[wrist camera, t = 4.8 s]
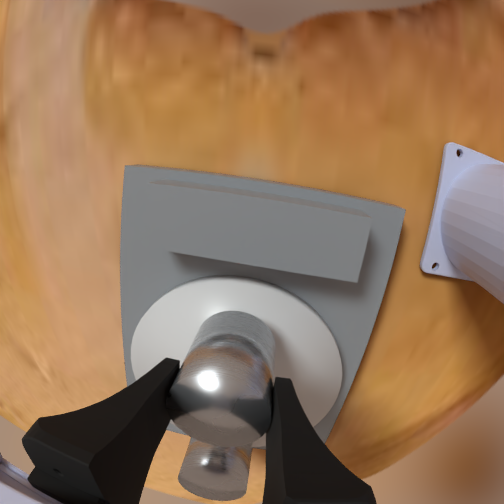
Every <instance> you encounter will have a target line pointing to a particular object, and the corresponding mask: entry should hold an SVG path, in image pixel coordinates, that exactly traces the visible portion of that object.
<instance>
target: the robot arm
mask: <svg viewBox="0 0 504 504" xmlns="http://www.w3.org/2000/svg"><path fill="white" fill-rule="evenodd" d="M457 150H459V151H460V156H459V157H458V156H457V154H456V152H457ZM434 263H436V267H435V268H433V269H432V265H433V264H434ZM420 268H421V269H422V270H423V271H424V272H426V273H430V274H435V275H441V276H447V277H452V278H458V279H463V280H469V281H474V282H476V283H477V284H479V285H480V286H481V287H483V288H484V289H485V290H487V291H488V292H489V293H490V294H492V295H493V296H494V297H495V298H497V299H498V300H499V301H500V302H502V303H503V304H504V163H502V162H500V161H498V160H495V159H493V158H491V157H488V156H486V155H484V154H481V153H479V152H476V151H474V150H471V149H469V148H466V147H464V146H461V145H459V144H456V143H452V142H450V143H447V144H446V145H445V147H444V151H443V158H442V165H441V171H440V177H439V183H438V188H437V193H436V198H435V203H434V208H433V213H432V217H431V222H430V226H429V230H428V234H427V238H426V242H425V246H424V250H423V254H422V257H421V261H420ZM179 370H180V360H176V359H171V358H167V357H166V358H165V359H163V360H162V361H161V362H160V363H158V364H157V365H156V366H155V367H153V368H152V369H151V370H150V371H148V372H147V373H146V374H145V375H143V376H142V377H140V378H139V379H138V380H136V381H135V382H134V383H132V384H131V385H129V386H127V387H126V388H124V389H123V390H121V391H120V392H118V393H116V394H114V395H113V396H111V397H109V398H107V399H105V400H103V401H101V402H98V403H96V404H93V405H91V406H88V407H85V408H83V409H80V410H76V411H73V412H69V413H65V414H60V415H55V416H48V417H41V418H39V419H38V420H37V421H36V422H35V423H34V424H33V425H32V427H31V428H30V429H29V430H28V432H27V433H26V434H25V435H24V437H23V438H22V443H23V446H24V448H25V450H26V452H27V454H28V455H29V457H30V459H31V460H32V462H33V464H34V465H35V468H34V469H33V471H32V472H31V474H30V475H28V474H27V473H25V472H24V471H22V470H20V469H19V468H17V467H16V466H14V465H13V464H11V463H10V462H8V461H7V460H5V459H4V458H2V455H1V453H0V504H139V501H140V497H141V494H142V490H143V487H144V484H145V481H146V477H147V474H148V471H149V468H150V465H151V462H152V459H153V457H154V454H155V452H156V449H157V447H158V445H159V443H160V441H161V439H162V437H163V435H164V433H165V431H166V429H167V427H168V425H169V423H170V421H171V418H170V416H169V414H168V411H167V407H166V399H167V395H168V393H169V391H170V389H171V387H172V384H173V382H174V380H175V378H176V376H177V374H178V372H179ZM262 504H376V500H375V497H374V494H373V491H372V488H371V486H369V485H368V484H366V483H365V482H364V481H362V480H361V479H359V478H358V477H357V476H355V475H354V474H353V473H352V472H351V471H349V470H348V469H347V468H346V467H345V466H344V465H343V464H342V463H341V462H340V461H339V460H338V459H337V458H336V457H335V456H334V455H333V454H332V453H331V451H330V450H329V449H328V448H327V446H326V445H325V444H324V443H323V441H322V440H321V439H320V437H319V436H318V434H317V433H316V431H315V430H314V428H313V426H312V425H311V423H310V421H309V420H308V418H307V416H306V414H305V412H304V410H303V408H302V406H301V404H300V401H299V399H298V397H297V394H296V392H295V389H294V386H293V383H292V380H291V379H290V378H282V377H275V382H274V386H273V398H272V414H271V423H270V426H269V429H268V430H267V432H266V479H265V487H264V496H263V503H262Z"/></svg>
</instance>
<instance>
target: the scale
mask: <svg viewBox="0 0 504 504" xmlns="http://www.w3.org/2000/svg"><path fill="white" fill-rule="evenodd" d="M404 215H405V209H403V208H401V207H399V206H396V205H393V204H388V203H384V202H379V201H375V200H370V199H366V198H361V197H356V196H351V195H346V194H341V193H336V192H331V191H326V190H321V189H315V188H310V187H304V186H298V185H293V184H287V183H281V182H274V181H268V180H262V179H255V178H248V177H241V176H234V175H227V174H219V173H212V172H204V171H195V170H187V169H177V168H168V167H158V166H147V165H127V166H125V171H124V183H123V197H122V215H121V245H120V286H121V316H122V334H123V348H124V359H125V370H126V379H127V386H129V385H131V384H132V383H134V382H135V381H136V380H138V379H139V378H140V377H142V376H143V375H145V374H146V373H147V372H148V371H150V370H151V369H152V368H153V367H155V366H156V365H157V364H158V363H160V362H161V361H162V360H163V359H165V358H166V357H167V358H171V359H176V360H180V368H181V366H182V363H183V361H184V359H185V357H186V355H187V353H188V351H189V349H190V347H191V345H192V343H193V341H194V338H195V336H196V334H197V332H198V330H199V328H200V326H201V325H202V323H203V322H204V321H205V320H206V319H207V318H209V317H210V316H212V315H214V314H216V313H219V312H223V311H242V312H246V313H249V314H251V315H253V316H256V317H257V318H259V319H260V320H262V321H263V322H264V323H265V324H266V325H267V326H268V327H269V329H270V330H271V332H272V334H273V336H274V339H275V344H276V350H275V367H274V382H275V377H282V378H290V379H291V380H292V383H293V386H294V389H295V392H296V394H297V397H298V399H299V401H300V404H301V406H302V408H303V410H304V412H305V414H306V416H307V418H308V420H309V421H310V423H311V425H312V426H313V428H314V430H315V431H316V433H317V434H318V436H319V437H320V439H321V440H322V441H323V443H324V444H325V442H326V440H327V438H328V436H329V434H330V432H331V430H332V428H333V426H334V423H335V421H336V419H337V417H338V415H339V413H340V410H341V408H342V406H343V404H344V401H345V399H346V397H347V394H348V392H349V390H350V387H351V385H352V382H353V380H354V377H355V375H356V372H357V370H358V367H359V365H360V362H361V359H362V357H363V354H364V351H365V349H366V346H367V343H368V341H369V338H370V335H371V332H372V329H373V326H374V323H375V320H376V317H377V314H378V311H379V308H380V305H381V302H382V298H383V295H384V292H385V289H386V285H387V282H388V278H389V275H390V271H391V268H392V264H393V260H394V256H395V253H396V249H397V245H398V241H399V237H400V232H401V228H402V224H403V219H404ZM273 386H274V384H273ZM166 430H169V431H173V432H176V433H180V434H184V435H187V434H186V433H184V432H183V431H182V430H180V429H179V428H178V427H177V426H176V425H175V423H174V422H173V421H172V419H171V421H170V423H169V425H168V427H167V429H166ZM252 448H257V449H264V450H266V433H265V434H264V435H263V436H262V437H261V438H259V439H258V440H256V441H254V442H253V446H252Z"/></svg>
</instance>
